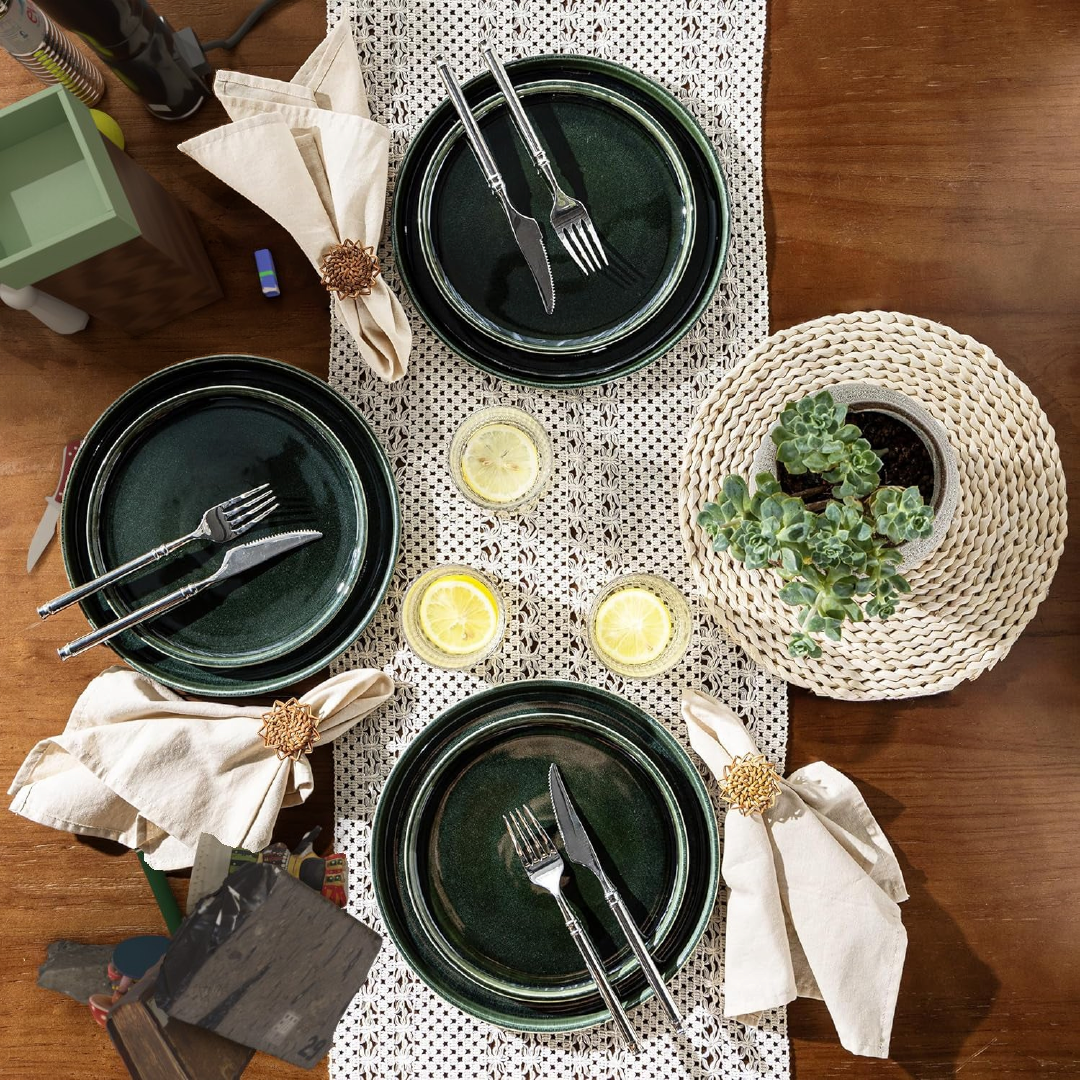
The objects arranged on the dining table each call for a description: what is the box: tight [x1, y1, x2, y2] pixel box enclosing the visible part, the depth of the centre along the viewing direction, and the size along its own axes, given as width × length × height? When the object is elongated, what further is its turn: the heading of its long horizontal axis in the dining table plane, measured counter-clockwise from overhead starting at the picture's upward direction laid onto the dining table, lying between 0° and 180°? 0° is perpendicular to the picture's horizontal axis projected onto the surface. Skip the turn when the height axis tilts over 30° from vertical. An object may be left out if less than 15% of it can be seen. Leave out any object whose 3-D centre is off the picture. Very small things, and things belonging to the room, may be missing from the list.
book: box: [105, 953, 257, 1080], centre depth 101 cm, size 17×7×25 cm, turn 25°
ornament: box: [89, 108, 125, 151], centre depth 110 cm, size 7×7×10 cm
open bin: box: [0, 82, 142, 290], centre depth 88 cm, size 16×16×5 cm
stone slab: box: [154, 862, 384, 1072], centre depth 101 cm, size 18×9×30 cm
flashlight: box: [134, 848, 187, 938], centre depth 112 cm, size 5×5×20 cm
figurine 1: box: [88, 934, 172, 1029], centre depth 106 cm, size 12×9×8 cm
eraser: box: [254, 248, 281, 298], centre depth 113 cm, size 2×6×2 cm
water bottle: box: [0, 0, 106, 109], centre depth 103 cm, size 7×7×25 cm
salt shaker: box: [0, 283, 90, 335], centre depth 108 cm, size 6×6×13 cm
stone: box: [35, 939, 134, 1006], centre depth 110 cm, size 18×9×10 cm
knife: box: [26, 440, 84, 575], centre depth 114 cm, size 20×1×3 cm
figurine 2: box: [185, 825, 350, 915], centre depth 109 cm, size 12×15×20 cm
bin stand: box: [30, 128, 225, 337], centre depth 102 cm, size 14×14×24 cm
